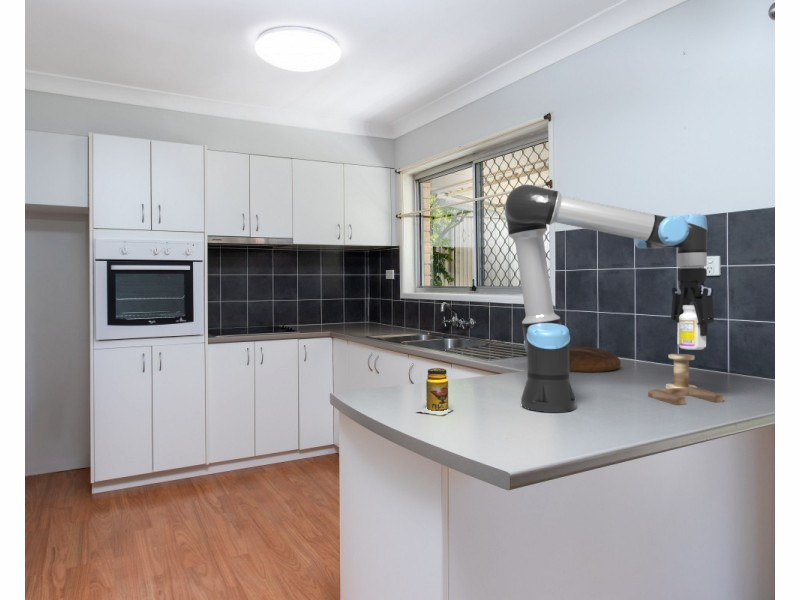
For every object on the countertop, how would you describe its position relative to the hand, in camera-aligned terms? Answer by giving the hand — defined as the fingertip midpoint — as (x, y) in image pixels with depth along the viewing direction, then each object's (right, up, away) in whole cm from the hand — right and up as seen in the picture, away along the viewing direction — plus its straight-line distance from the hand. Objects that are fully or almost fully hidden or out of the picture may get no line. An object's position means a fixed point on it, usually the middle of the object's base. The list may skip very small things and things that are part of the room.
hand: (691, 345), depth 158 cm
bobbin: (+6, -16, +17) cm, 24 cm away
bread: (-10, -15, +63) cm, 65 cm away
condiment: (-77, -18, -9) cm, 79 cm away
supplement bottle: (0, -1, 0) cm, 1 cm away
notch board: (0, -16, +3) cm, 17 cm away
